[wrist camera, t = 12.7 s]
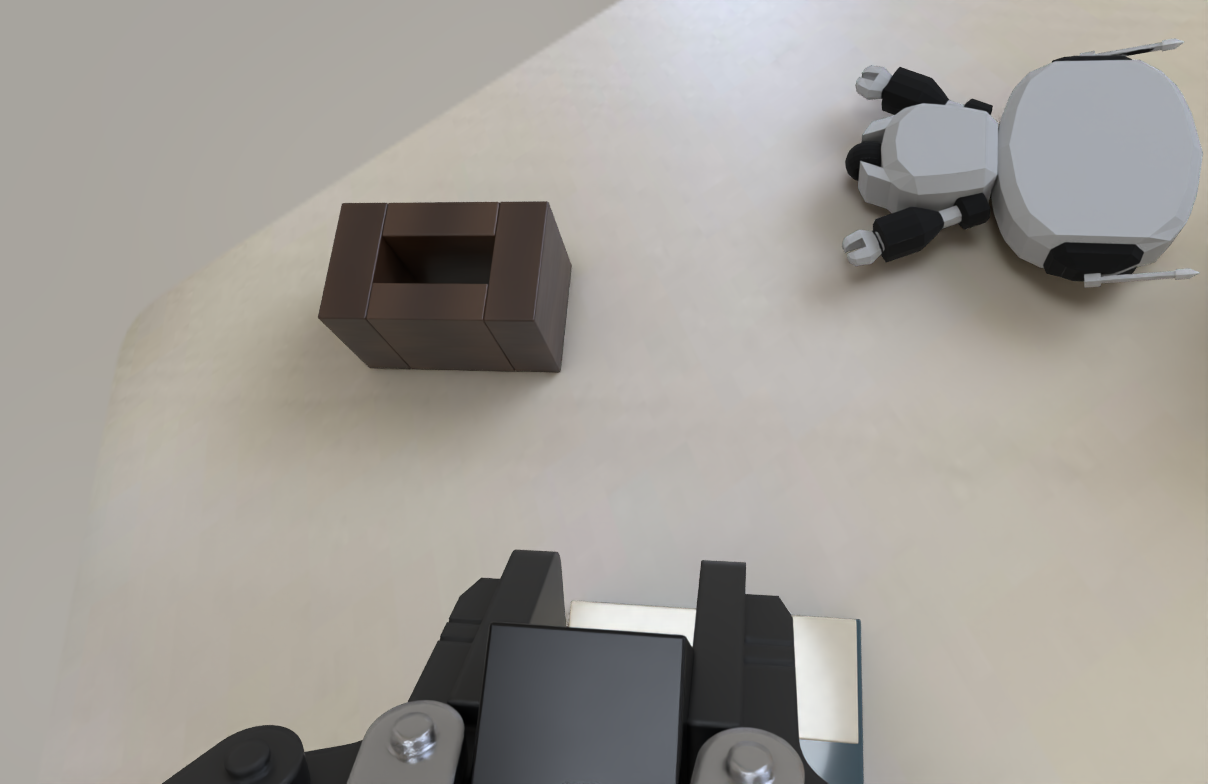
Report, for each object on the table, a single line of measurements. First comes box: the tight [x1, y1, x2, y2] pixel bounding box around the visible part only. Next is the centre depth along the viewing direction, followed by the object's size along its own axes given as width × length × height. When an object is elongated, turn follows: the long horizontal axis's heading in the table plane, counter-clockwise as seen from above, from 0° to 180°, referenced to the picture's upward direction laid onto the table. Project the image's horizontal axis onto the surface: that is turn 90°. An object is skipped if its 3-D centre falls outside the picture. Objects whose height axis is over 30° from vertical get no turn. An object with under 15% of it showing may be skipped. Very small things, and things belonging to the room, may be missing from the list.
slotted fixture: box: [569, 601, 864, 784], centre depth 33 cm, size 12×12×8 cm
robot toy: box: [842, 39, 1203, 287], centre depth 42 cm, size 12×4×15 cm
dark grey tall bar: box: [470, 621, 694, 784], centre depth 17 cm, size 4×2×15 cm, turn 85°
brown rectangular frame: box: [318, 202, 572, 372], centre depth 42 cm, size 10×6×6 cm, turn 85°
